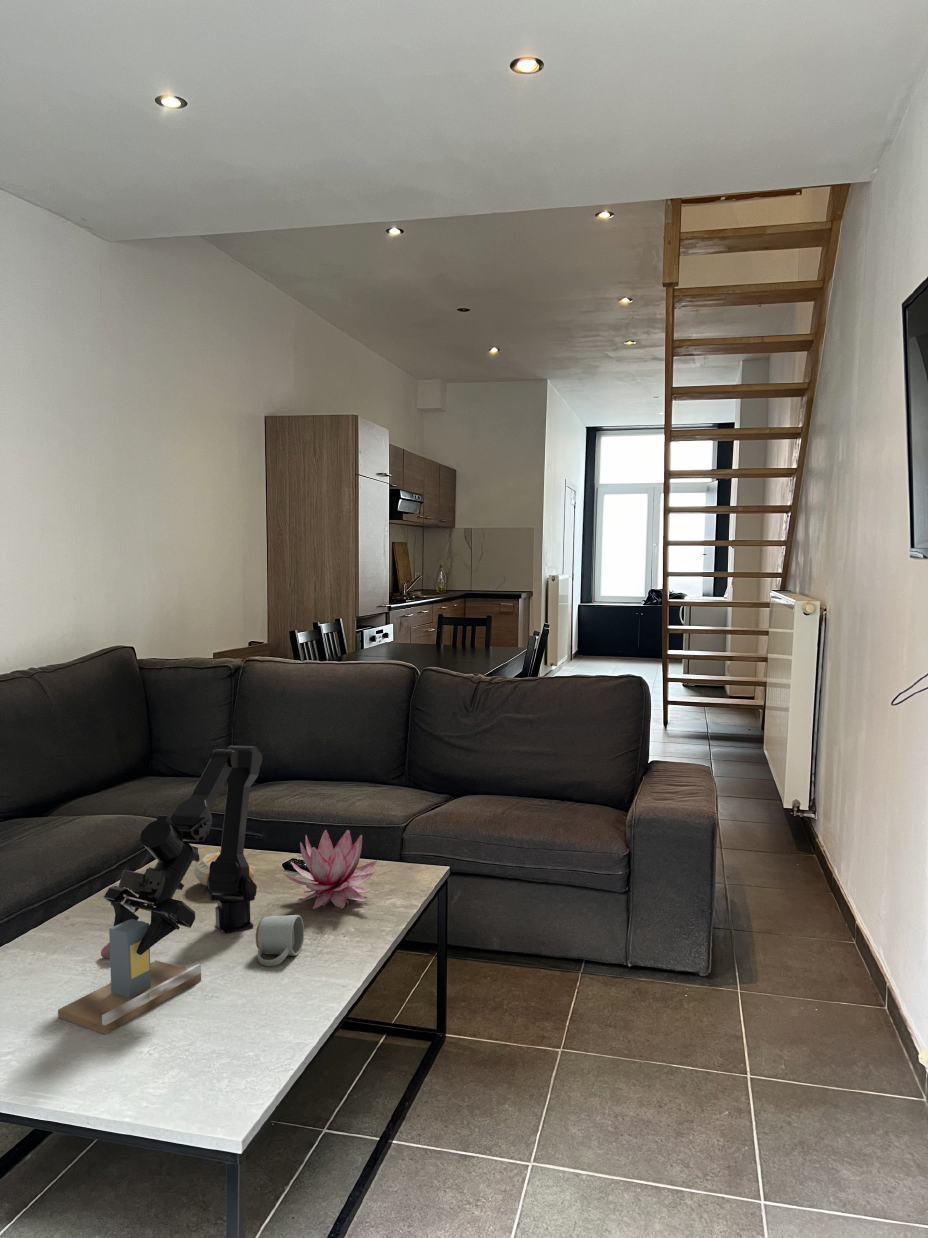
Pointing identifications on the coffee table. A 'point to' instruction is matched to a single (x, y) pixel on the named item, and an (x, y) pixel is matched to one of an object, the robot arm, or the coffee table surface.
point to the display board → (115, 1010)
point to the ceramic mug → (279, 937)
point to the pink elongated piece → (107, 950)
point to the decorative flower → (334, 870)
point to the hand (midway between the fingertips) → (124, 950)
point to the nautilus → (204, 868)
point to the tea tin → (129, 959)
